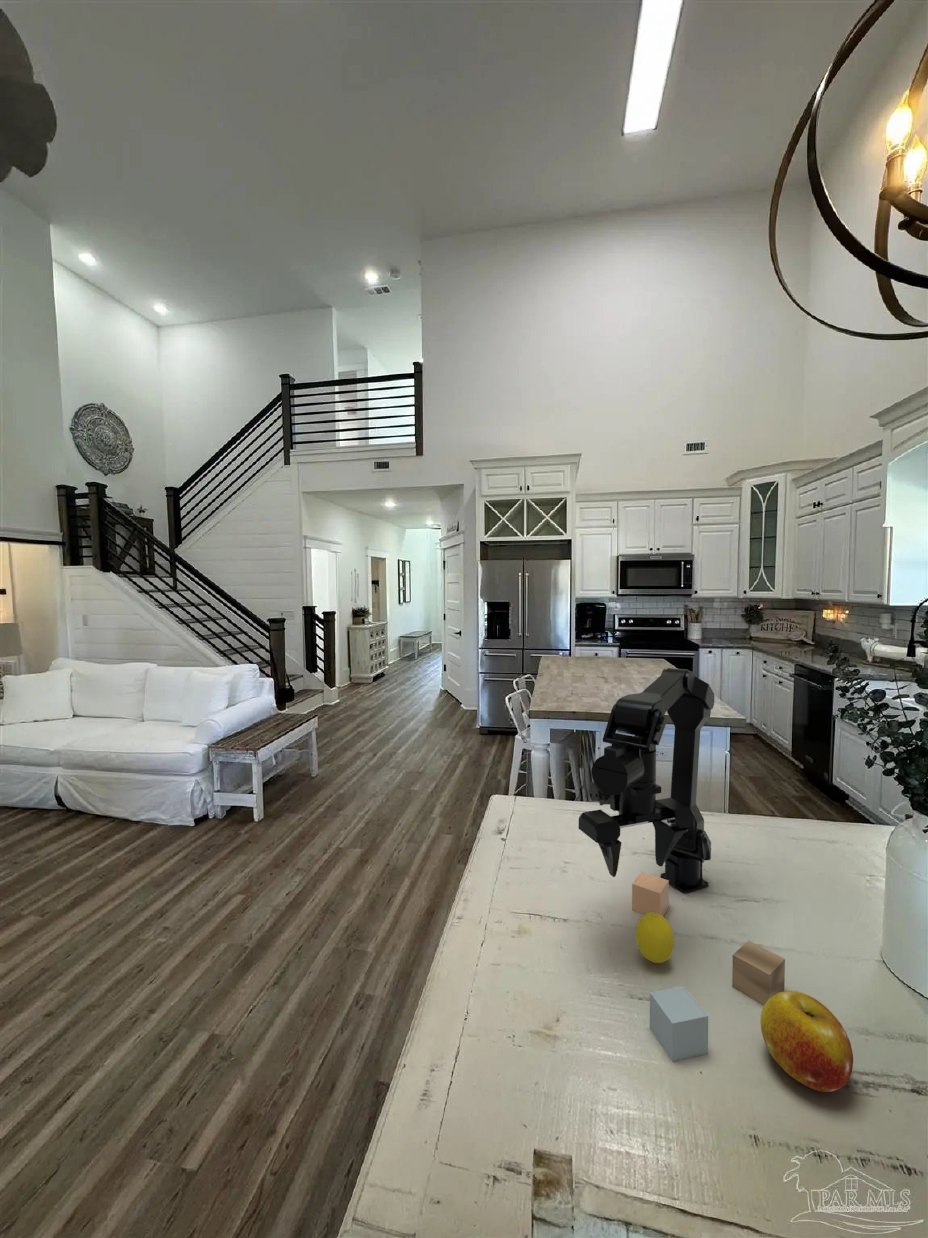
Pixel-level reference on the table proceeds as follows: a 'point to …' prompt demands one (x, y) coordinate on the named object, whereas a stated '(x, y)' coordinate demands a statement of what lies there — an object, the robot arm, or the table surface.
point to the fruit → (807, 1041)
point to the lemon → (654, 937)
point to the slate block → (678, 1023)
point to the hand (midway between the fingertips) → (636, 870)
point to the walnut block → (758, 972)
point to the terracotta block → (650, 894)
